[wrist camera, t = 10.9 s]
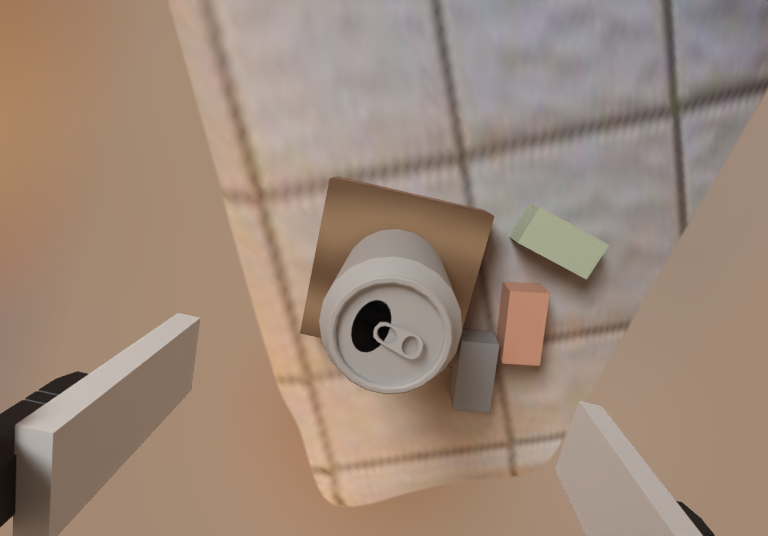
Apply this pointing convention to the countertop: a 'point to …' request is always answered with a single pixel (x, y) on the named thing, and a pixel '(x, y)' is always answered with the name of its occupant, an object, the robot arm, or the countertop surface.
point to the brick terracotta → (522, 323)
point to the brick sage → (558, 241)
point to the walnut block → (386, 212)
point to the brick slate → (474, 371)
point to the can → (391, 314)
